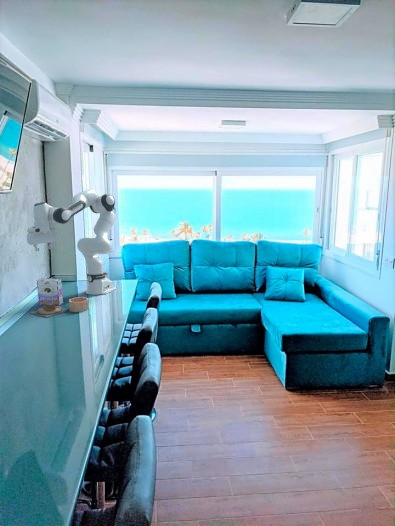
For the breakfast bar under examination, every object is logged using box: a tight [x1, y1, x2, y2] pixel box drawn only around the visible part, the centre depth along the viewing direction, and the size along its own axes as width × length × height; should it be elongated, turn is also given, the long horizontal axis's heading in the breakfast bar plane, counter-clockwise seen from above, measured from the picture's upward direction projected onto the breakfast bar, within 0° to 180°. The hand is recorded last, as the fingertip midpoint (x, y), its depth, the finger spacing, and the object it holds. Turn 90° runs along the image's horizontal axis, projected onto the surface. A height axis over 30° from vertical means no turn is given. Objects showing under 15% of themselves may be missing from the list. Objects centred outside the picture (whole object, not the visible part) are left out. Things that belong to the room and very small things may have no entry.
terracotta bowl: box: [68, 296, 89, 313], centre depth 226 cm, size 11×11×6 cm
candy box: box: [36, 277, 64, 306], centre depth 234 cm, size 14×6×16 cm, turn 84°
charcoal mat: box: [30, 307, 69, 319], centre depth 221 cm, size 15×15×1 cm
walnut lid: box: [36, 302, 63, 315], centre depth 220 cm, size 14×14×5 cm
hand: (43, 250), depth 235 cm, fingers open, 8 cm apart
